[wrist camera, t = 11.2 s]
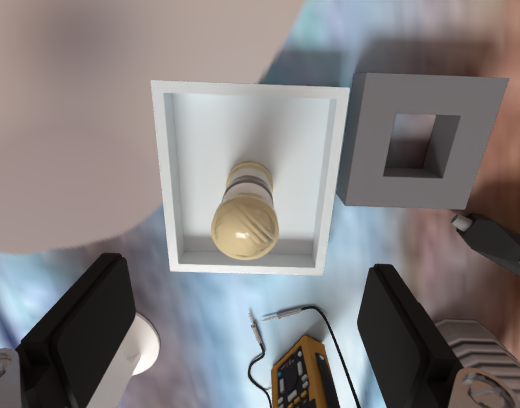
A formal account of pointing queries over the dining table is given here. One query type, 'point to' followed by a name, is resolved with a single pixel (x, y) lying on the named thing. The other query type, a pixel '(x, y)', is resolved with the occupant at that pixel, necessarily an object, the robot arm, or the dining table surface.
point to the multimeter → (303, 373)
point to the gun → (490, 240)
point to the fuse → (246, 213)
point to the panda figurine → (127, 363)
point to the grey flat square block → (440, 146)
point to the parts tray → (248, 149)
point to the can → (481, 350)
